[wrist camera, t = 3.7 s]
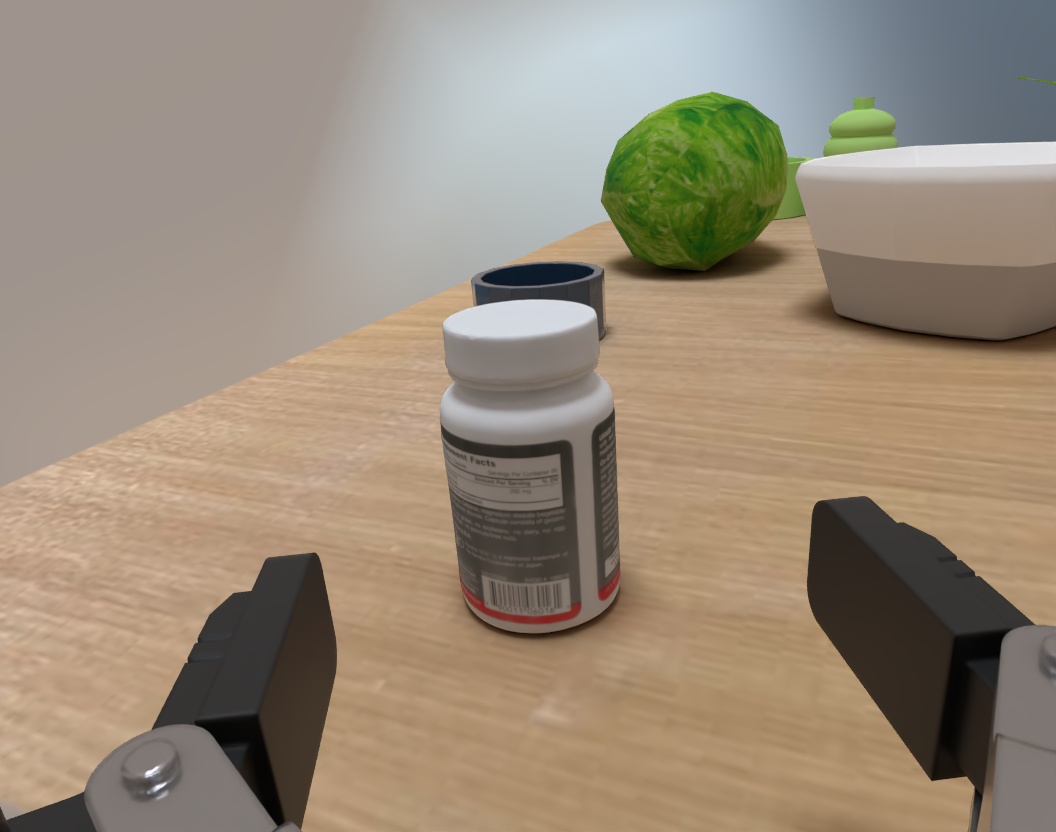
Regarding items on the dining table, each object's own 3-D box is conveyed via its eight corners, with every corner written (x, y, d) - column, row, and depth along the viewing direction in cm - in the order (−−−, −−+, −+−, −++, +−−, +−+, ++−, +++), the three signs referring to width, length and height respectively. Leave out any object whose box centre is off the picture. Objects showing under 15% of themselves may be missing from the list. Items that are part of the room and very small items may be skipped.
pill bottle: (553, 531, 26) (537, 286, 23) (654, 590, 22) (650, 309, 19) (432, 585, 23) (395, 319, 20) (524, 663, 20) (495, 352, 17)
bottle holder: (452, 346, 48) (445, 284, 47) (523, 315, 54) (519, 259, 53) (564, 360, 44) (560, 291, 42) (627, 324, 50) (625, 263, 49)
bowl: (1174, 303, 46) (1214, 137, 42) (1055, 376, 36) (1095, 167, 32) (887, 272, 59) (900, 144, 56) (743, 319, 49) (748, 166, 46)
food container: (668, 219, 96) (668, 112, 91) (724, 204, 106) (726, 107, 101) (874, 226, 80) (887, 96, 75) (917, 208, 90) (930, 92, 85)
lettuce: (649, 261, 83) (791, 285, 76) (555, 249, 64) (733, 281, 57) (677, 119, 80) (828, 132, 73) (586, 62, 60) (780, 72, 53)
